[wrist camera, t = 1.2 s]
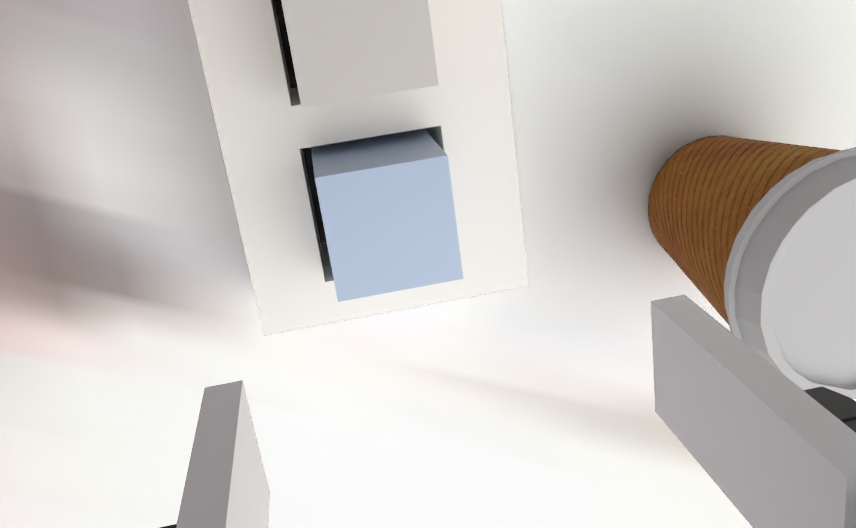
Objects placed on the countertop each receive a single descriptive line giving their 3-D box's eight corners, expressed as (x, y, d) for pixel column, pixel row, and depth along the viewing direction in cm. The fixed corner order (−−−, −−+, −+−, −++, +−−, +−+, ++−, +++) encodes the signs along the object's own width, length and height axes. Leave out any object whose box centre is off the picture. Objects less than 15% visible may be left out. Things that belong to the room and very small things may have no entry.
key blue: (421, 125, 34) (447, 155, 28) (435, 230, 35) (463, 278, 30) (310, 143, 33) (314, 177, 27) (330, 249, 35) (338, 302, 29)
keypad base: (437, -329, 30) (463, -384, 26) (499, 248, 38) (528, 286, 34) (137, -297, 29) (108, -349, 25) (266, 290, 37) (263, 335, 33)
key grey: (396, -56, 31) (419, -63, 25) (413, 66, 33) (438, 85, 27) (276, -39, 31) (273, -42, 25) (299, 84, 32) (301, 107, 27)
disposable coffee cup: (588, 271, 40) (706, 387, 28) (655, 77, 37) (815, 122, 26) (756, 308, 42) (927, 429, 31) (831, 128, 39) (1048, 189, 28)
